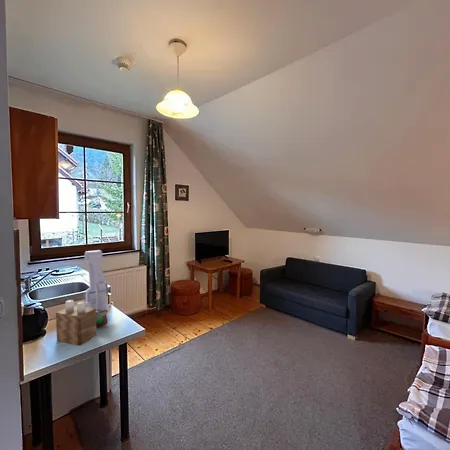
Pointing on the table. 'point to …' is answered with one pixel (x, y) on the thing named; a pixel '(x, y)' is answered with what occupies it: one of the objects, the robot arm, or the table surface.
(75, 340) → the wooden bottle crate
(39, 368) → the table surface
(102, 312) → the food container
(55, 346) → the table surface
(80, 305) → the tumblers
